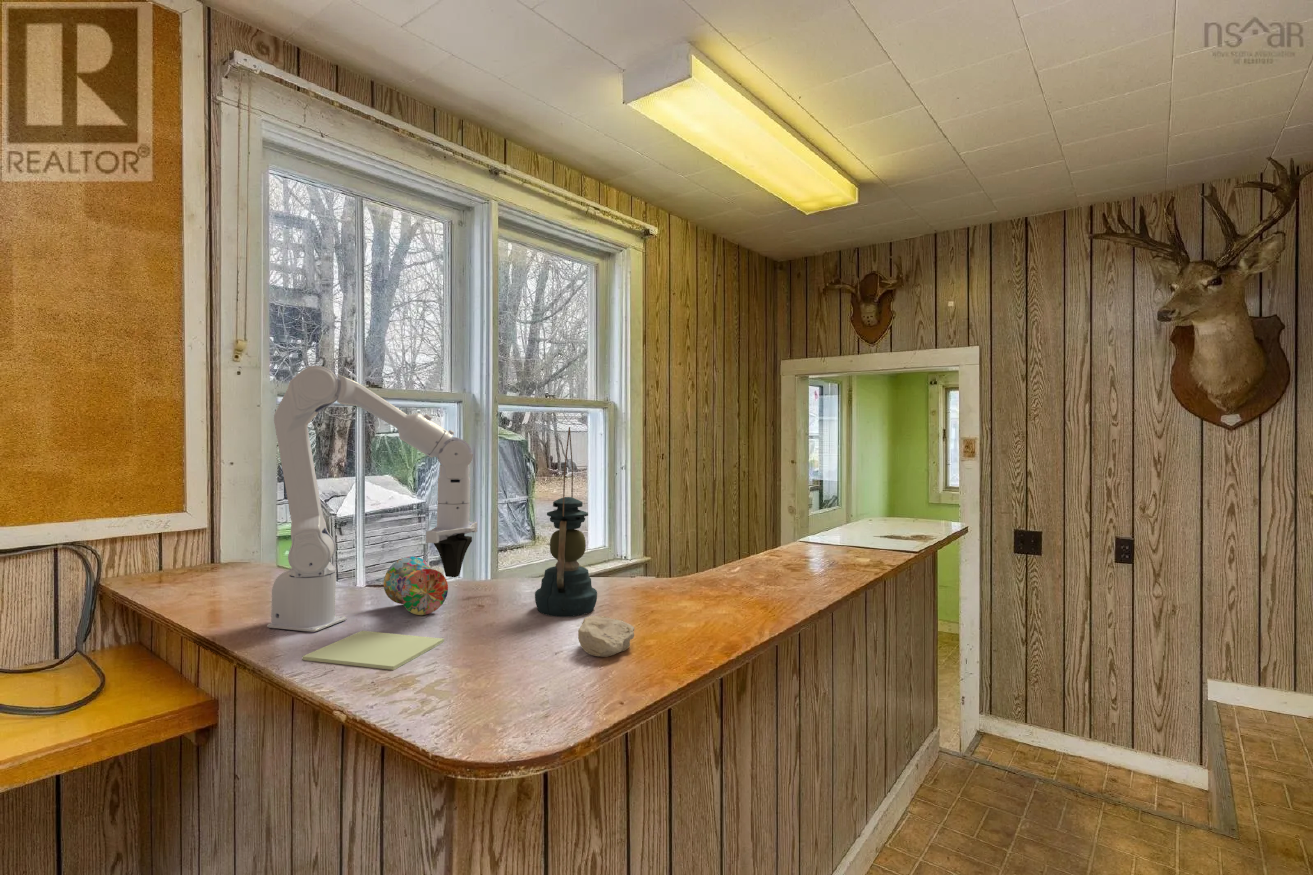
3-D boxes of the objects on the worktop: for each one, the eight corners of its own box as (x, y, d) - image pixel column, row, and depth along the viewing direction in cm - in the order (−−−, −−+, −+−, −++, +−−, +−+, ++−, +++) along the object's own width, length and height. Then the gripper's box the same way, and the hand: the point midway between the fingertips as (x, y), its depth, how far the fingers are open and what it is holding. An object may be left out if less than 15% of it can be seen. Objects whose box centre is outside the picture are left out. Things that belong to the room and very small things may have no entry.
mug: (422, 558, 117) (403, 547, 125) (389, 604, 113) (372, 589, 122) (472, 589, 123) (451, 577, 131) (443, 634, 120) (423, 618, 128)
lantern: (592, 620, 117) (596, 427, 117) (527, 619, 117) (531, 425, 117) (600, 600, 131) (603, 428, 131) (542, 599, 131) (545, 427, 131)
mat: (302, 659, 94) (302, 656, 94) (362, 633, 107) (362, 630, 107) (393, 670, 91) (393, 666, 91) (444, 641, 103) (444, 638, 103)
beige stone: (641, 623, 106) (629, 614, 97) (633, 664, 103) (621, 660, 94) (590, 614, 108) (574, 605, 98) (581, 655, 105) (564, 649, 96)
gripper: (452, 507, 112) (450, 586, 112) (492, 500, 126) (490, 569, 126) (416, 505, 113) (414, 583, 113) (459, 498, 127) (457, 567, 127)
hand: (452, 576), depth 120 cm, fingers closed
